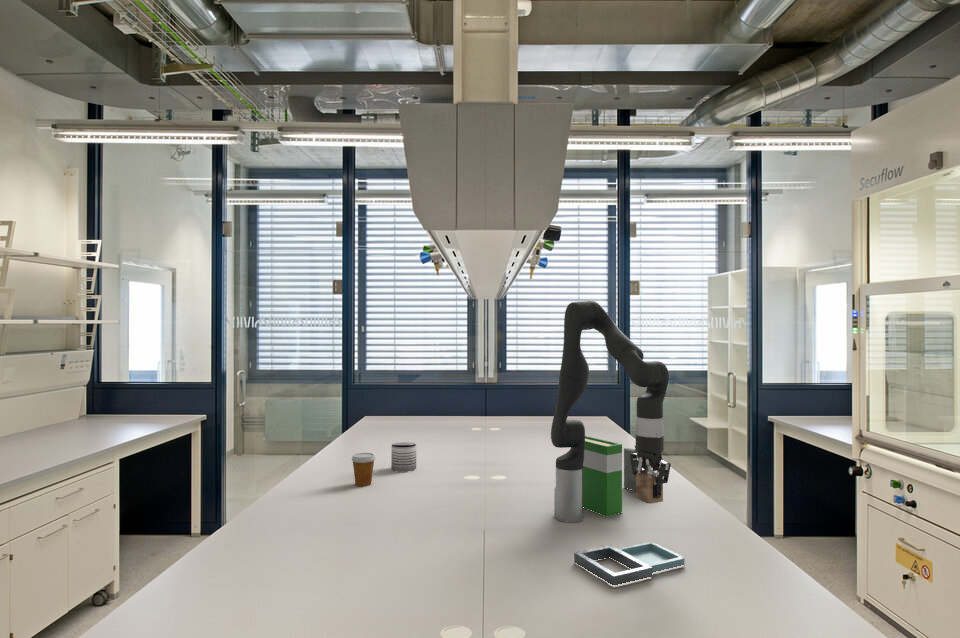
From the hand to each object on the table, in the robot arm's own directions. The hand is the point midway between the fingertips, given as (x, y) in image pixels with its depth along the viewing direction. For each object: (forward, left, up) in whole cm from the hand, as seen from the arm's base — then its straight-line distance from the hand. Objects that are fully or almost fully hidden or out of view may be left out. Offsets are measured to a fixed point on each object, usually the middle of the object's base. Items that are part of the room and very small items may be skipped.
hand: (649, 494), depth 161 cm
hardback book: (-45, +16, -19) cm, 51 cm away
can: (-128, -28, -19) cm, 132 cm away
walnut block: (0, 0, -1) cm, 1 cm away
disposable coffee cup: (-111, -51, -19) cm, 124 cm away
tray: (0, 0, -19) cm, 19 cm away
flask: (-55, +44, -19) cm, 73 cm away
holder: (0, -13, -19) cm, 23 cm away
